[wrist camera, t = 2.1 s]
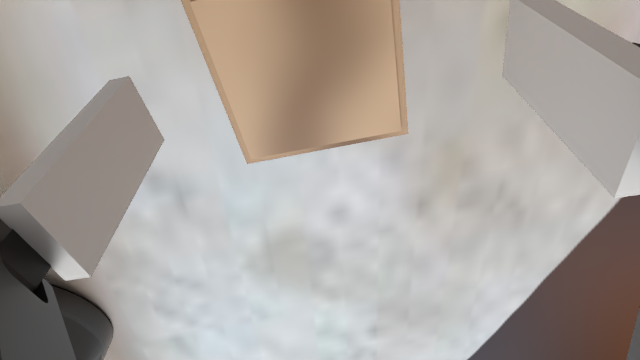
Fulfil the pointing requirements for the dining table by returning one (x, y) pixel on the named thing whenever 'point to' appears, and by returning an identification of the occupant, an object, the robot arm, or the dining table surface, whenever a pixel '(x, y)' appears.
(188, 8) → the small wooden stool
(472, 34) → the dining table surface
